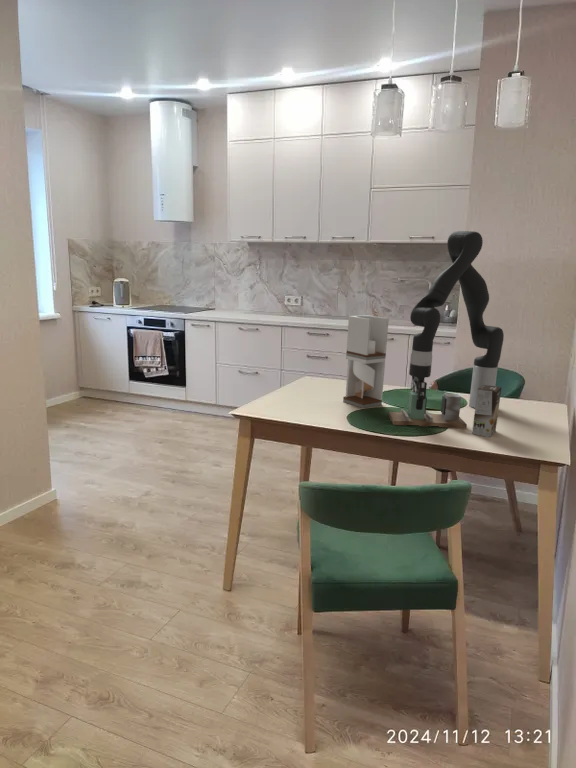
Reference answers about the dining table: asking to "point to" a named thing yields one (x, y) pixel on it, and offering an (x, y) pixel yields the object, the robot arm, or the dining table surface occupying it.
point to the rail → (435, 415)
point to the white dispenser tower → (366, 360)
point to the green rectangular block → (412, 410)
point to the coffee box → (486, 410)
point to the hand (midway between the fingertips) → (416, 406)
